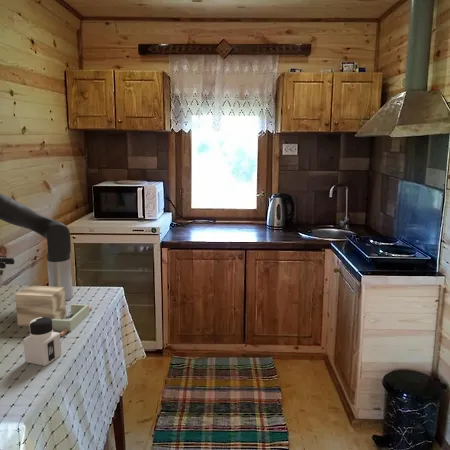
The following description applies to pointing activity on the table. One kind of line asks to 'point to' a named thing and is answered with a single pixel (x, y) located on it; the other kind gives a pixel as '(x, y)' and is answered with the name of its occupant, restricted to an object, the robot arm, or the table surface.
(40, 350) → the container
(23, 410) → the table surface
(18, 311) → the ash block
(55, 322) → the grey-green piece
